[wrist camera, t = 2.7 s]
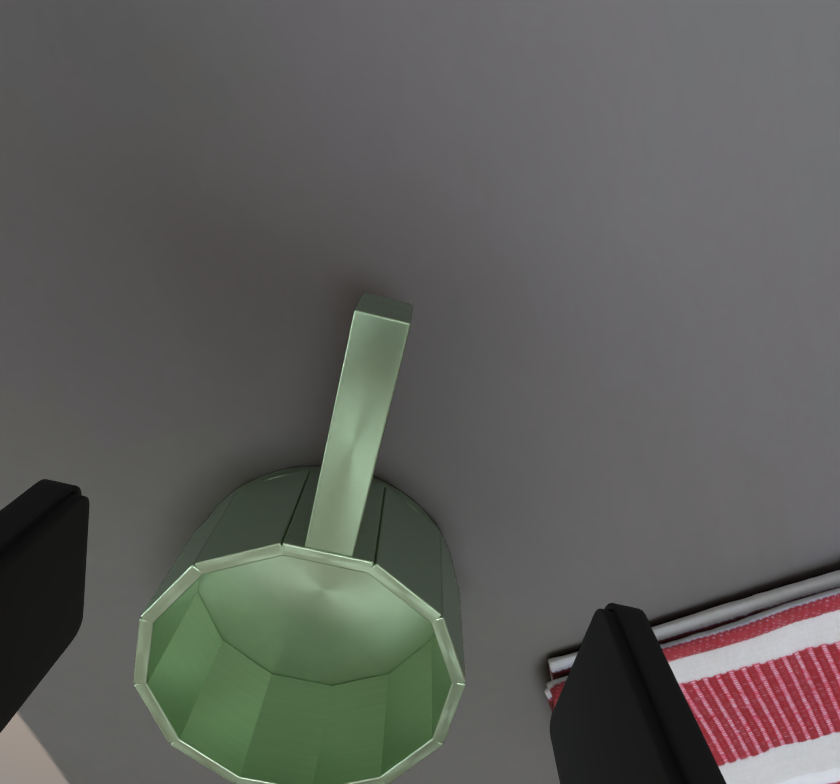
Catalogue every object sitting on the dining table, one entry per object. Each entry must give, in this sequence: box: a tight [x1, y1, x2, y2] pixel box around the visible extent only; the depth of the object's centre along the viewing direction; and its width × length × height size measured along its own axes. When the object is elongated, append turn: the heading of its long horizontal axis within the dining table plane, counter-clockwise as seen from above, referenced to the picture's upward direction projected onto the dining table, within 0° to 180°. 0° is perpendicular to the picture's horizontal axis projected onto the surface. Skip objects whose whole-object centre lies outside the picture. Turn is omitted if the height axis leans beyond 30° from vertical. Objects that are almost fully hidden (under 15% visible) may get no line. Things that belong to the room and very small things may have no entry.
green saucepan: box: [134, 293, 465, 784], centre depth 22 cm, size 20×12×6 cm, turn 166°
